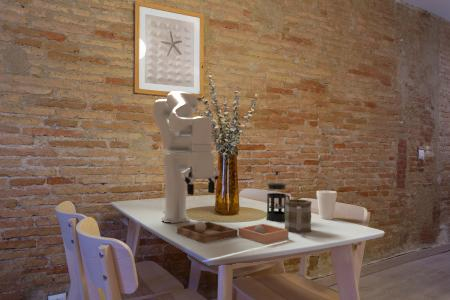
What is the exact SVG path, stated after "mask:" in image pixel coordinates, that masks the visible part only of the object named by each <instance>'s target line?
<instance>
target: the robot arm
mask: <svg viewBox="0 0 450 300" xmlns="http://www.w3.org/2000/svg"><path fill="white" fill-rule="evenodd" d="M198 106H199V99H198V97H197V95H196V94H194V93H193V92H185V91H171V92H169V93H168V94H167V95H166V98H164V99H163V98H161V99H157V100H155V101H154V102H153V104H152V115H153V120H154V122H155V124H156V126H157V127H158V130H159V133H160V137H161V142H162V146H163V149H164V151H165V152H166V153H165V155H164V156H163V168H164V177H165V179H164V181H165V183H164V184H165V187H164V194H165V195H164V199H165V201H164V210H163V211H162V213H163V214H164V216H163V217H162V218H161V220H162V221H164V222H163V223H165V222H171V223H170V224H180V223H179V222H184V223H187V222H189V221H190V217H189V216H187V195H191V196H194V194H195V185H194V184H193V183H194V182H195V181H196V180H202V179H203V180H204V179H207V180H208V182H207V183H208V184H207V185H208V188H207V193H210V194H215V185H216V184H215V183H216V182H217V180H218V179H219V175H220V173H221V171H220V170H218V169H217V168H215V160H214V154H213V152H212V150H214V146H212V119H211V118H210V117H209V116H195V117H191V116H192V114H193V112H195V111H196V110H197V108H198ZM162 221H161V222H162ZM186 221H187V222H186Z"/></svg>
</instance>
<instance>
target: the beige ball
mask: <svg viewBox="0 0 450 300" xmlns="http://www.w3.org/2000/svg"><path fill="white" fill-rule="evenodd" d="M194 224H195V230H196V232H198V233H203V232H204V231H205V230H206V225H205V223H204V222H203V221H197V222H196V223H194Z"/></svg>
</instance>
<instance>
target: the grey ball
mask: <svg viewBox="0 0 450 300" xmlns="http://www.w3.org/2000/svg"><path fill="white" fill-rule="evenodd" d="M257 225H258V224H257ZM253 231H254V232H257V233H261V234H265V228H264V227H263V226H260V225H258V226H256V227H255V228H254V230H253Z"/></svg>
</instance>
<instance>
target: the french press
mask: <svg viewBox="0 0 450 300" xmlns="http://www.w3.org/2000/svg"><path fill="white" fill-rule="evenodd" d="M272 173H275V176H276V182H270V183H267V184H266V185H267V186H268V189H269V190H275V192H272V193H270V192H269V193H267V194H266V197H267V198H266V205H267V206H266V220H267V221H270V222H276V223H277V222H285V200H289V199H291V196H290V195H287V194H286V193H279V192H278V190H286V186H287V184H286V183H283V182H278V175H279V173H282V171H280V170H275V171H274V170H273V171H272Z"/></svg>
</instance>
